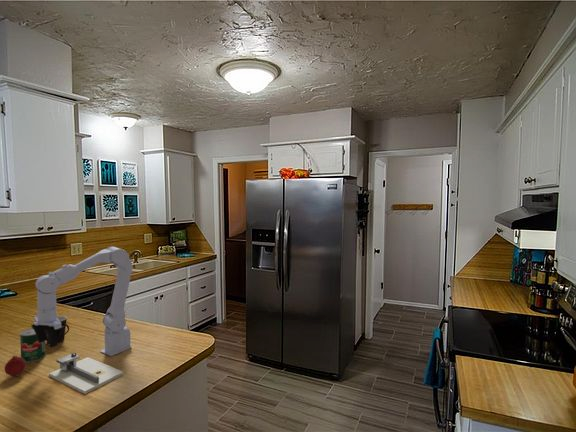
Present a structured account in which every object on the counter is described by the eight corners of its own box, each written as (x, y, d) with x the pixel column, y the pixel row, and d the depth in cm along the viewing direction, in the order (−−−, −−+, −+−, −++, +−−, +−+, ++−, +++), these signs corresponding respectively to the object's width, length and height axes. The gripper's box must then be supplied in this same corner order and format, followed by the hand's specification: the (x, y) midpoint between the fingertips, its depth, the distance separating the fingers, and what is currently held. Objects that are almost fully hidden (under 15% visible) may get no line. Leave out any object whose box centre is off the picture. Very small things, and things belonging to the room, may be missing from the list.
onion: (29, 372, 120) (29, 351, 120) (17, 380, 115) (16, 358, 114) (13, 372, 120) (13, 351, 120) (0, 380, 115) (-1, 358, 114)
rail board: (87, 359, 131) (87, 352, 130) (123, 374, 120) (123, 366, 120) (49, 376, 118) (48, 367, 118) (84, 394, 108) (84, 385, 108)
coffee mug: (41, 341, 146) (41, 319, 145) (64, 335, 152) (64, 314, 151) (47, 349, 138) (47, 326, 137) (71, 343, 144) (71, 321, 144)
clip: (73, 363, 125) (73, 351, 124) (79, 366, 123) (79, 354, 123) (56, 370, 119) (56, 358, 119) (62, 373, 118) (62, 361, 117)
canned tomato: (42, 351, 137) (42, 325, 136) (48, 357, 132) (47, 330, 131) (18, 358, 130) (17, 331, 130) (23, 364, 125) (22, 337, 125)
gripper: (24, 307, 120) (25, 343, 121) (45, 315, 113) (46, 352, 114) (45, 302, 126) (46, 336, 127) (67, 309, 120) (67, 344, 121)
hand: (47, 343), depth 121 cm, fingers open, 7 cm apart
